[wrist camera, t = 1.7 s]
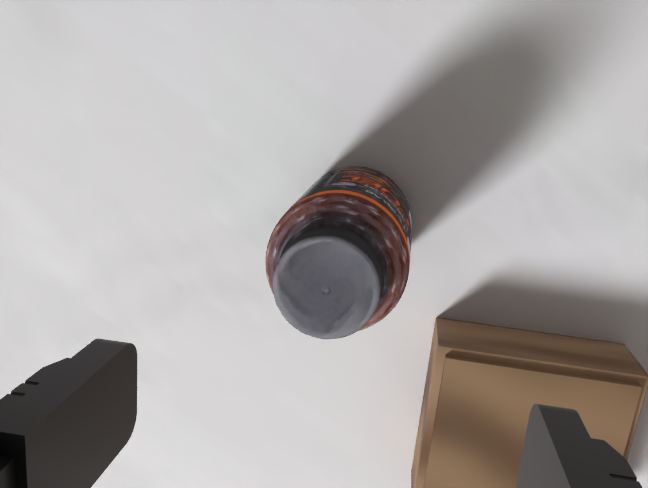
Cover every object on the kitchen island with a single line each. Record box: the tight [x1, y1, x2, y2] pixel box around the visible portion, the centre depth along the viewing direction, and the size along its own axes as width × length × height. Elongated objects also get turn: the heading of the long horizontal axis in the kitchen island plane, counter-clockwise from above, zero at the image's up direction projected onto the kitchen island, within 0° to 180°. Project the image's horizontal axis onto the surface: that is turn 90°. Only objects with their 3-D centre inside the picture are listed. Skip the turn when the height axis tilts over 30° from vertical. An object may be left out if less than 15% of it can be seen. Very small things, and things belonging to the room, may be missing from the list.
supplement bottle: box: [266, 167, 412, 339], centre depth 27 cm, size 6×6×11 cm
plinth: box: [411, 318, 648, 488], centre depth 32 cm, size 10×10×4 cm
